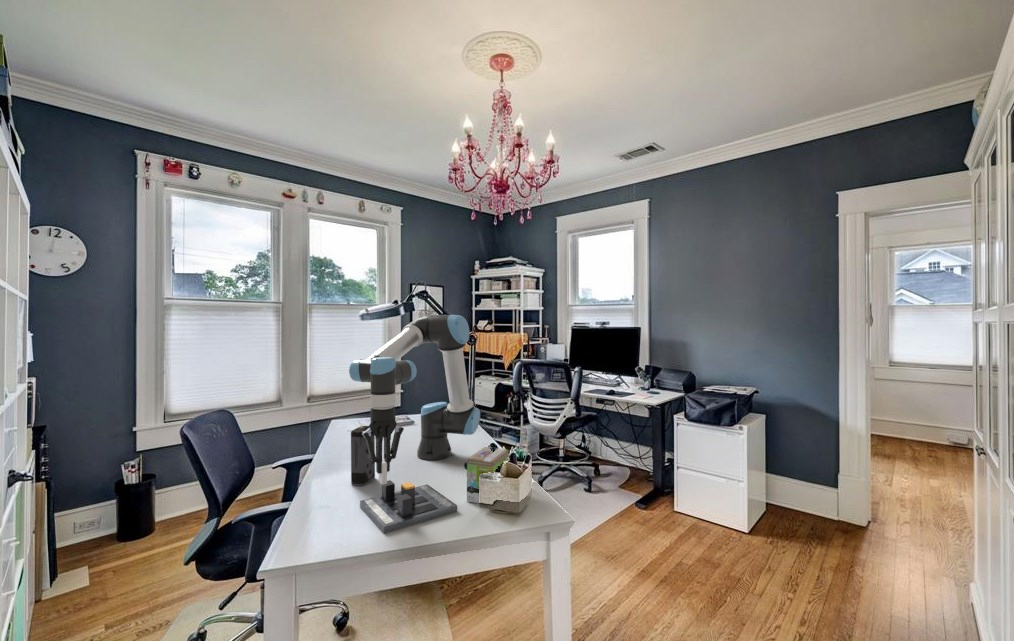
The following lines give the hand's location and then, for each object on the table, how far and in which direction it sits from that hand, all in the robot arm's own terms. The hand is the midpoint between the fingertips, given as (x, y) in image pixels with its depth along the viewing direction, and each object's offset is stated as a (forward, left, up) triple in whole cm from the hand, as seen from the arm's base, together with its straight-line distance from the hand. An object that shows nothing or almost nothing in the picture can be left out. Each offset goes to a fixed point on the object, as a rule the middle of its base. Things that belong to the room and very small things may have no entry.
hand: (383, 482), depth 138 cm
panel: (-8, 0, -11) cm, 13 cm away
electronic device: (-4, -33, -11) cm, 35 cm away
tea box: (-35, +6, -11) cm, 37 cm away
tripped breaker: (-8, 0, -8) cm, 12 cm away
